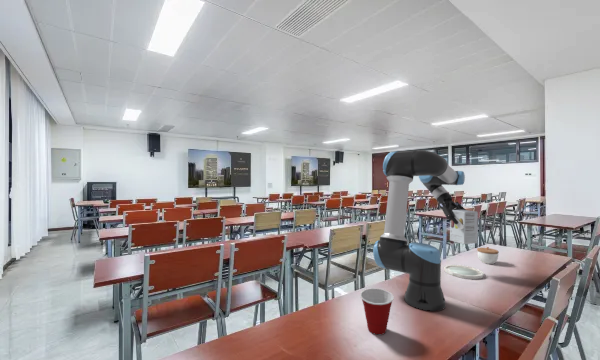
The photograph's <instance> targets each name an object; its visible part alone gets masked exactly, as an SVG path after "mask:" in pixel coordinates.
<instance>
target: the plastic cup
mask: <svg viewBox="0 0 600 360" xmlns="http://www.w3.org/2000/svg"><path fill="white" fill-rule="evenodd" d="M359 294H360V295H359V296H360V299H361V301H362V304H363V309H364V314H365V320H366V325H367V330H368V331H369V332H370V333H371V332H372V333H371V334H373V333H375V334H374V335H377V334H381V335H384V334H385V333H386V332H387V329H388V323H389V320H390V313H391V307H392V303H393V300H394V298H395V297H394V294H393V293H392V292H390V291H388V290H386V289H383V288H380V287H379V288H376V287H374V288H373V287H372V288H366V289H364V290H362V291H361V292H360V293H359ZM385 331H386V332H385ZM383 333H384V334H383Z"/></svg>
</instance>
